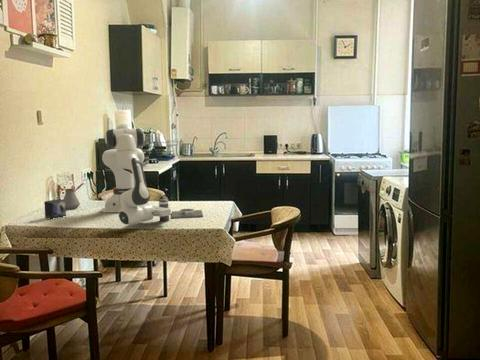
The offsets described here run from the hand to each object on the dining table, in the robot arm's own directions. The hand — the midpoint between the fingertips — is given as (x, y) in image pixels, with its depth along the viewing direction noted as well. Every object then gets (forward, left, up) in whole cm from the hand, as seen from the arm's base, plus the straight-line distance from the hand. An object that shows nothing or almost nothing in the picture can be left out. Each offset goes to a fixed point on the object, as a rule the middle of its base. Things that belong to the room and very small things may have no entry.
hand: (165, 208), depth 275 cm
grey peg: (-1, -1, -7) cm, 7 cm away
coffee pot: (-61, +57, -7) cm, 84 cm away
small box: (-66, +24, -7) cm, 70 cm away
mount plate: (+12, +12, -7) cm, 19 cm away
